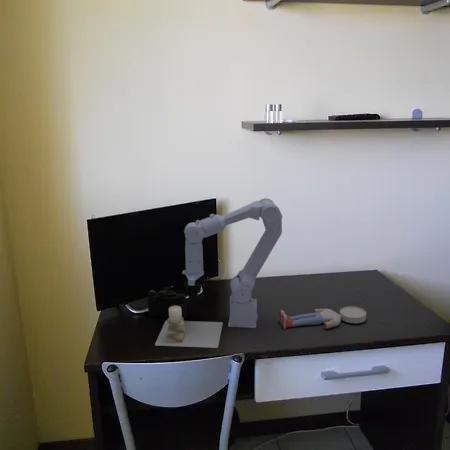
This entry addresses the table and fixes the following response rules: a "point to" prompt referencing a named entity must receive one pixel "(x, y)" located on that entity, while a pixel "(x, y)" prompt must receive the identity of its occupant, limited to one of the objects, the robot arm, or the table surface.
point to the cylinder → (175, 315)
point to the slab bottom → (176, 337)
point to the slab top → (175, 327)
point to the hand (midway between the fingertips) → (195, 297)
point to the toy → (324, 317)
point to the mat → (194, 335)
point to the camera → (165, 303)
